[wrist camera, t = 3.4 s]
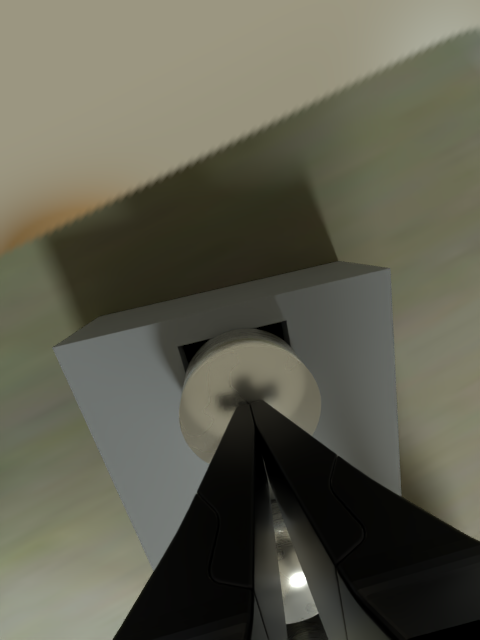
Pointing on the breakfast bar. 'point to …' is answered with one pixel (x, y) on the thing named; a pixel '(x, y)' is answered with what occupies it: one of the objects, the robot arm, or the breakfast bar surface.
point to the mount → (205, 323)
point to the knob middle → (291, 574)
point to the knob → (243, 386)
